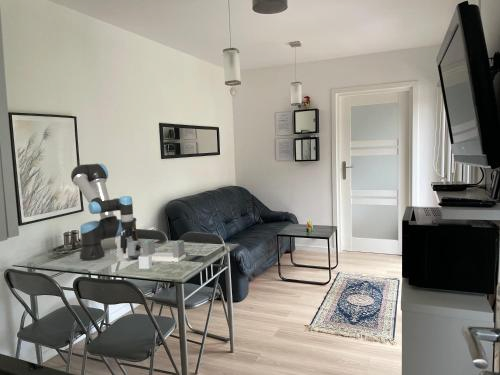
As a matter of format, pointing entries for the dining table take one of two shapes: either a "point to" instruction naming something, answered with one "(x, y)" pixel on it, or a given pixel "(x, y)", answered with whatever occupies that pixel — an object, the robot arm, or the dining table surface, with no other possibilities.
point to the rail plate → (175, 256)
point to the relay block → (145, 261)
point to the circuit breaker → (132, 249)
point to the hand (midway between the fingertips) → (129, 256)
